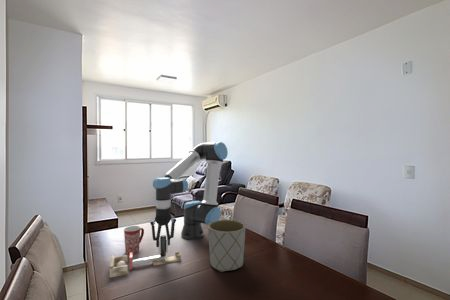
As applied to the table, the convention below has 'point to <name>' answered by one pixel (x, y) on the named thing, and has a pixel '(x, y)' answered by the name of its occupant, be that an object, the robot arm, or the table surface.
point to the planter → (226, 244)
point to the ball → (121, 263)
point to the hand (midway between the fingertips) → (163, 252)
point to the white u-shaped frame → (150, 259)
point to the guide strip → (168, 259)
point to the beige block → (120, 269)
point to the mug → (133, 238)
